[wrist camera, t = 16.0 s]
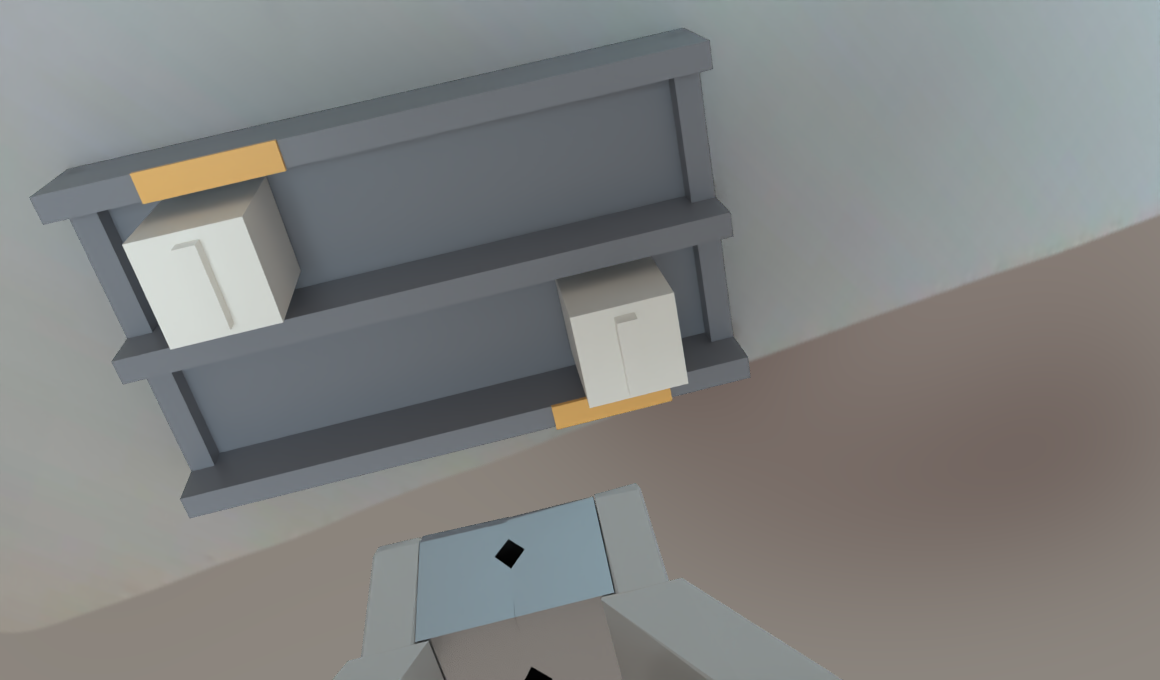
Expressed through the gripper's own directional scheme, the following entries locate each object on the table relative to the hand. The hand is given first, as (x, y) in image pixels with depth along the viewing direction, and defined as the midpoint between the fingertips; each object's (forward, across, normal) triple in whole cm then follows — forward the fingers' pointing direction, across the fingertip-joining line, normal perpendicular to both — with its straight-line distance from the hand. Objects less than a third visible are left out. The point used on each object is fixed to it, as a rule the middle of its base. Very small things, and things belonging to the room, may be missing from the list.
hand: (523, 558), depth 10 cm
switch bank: (+27, +4, +7) cm, 28 cm away
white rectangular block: (+26, +11, +4) cm, 29 cm away
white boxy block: (+27, -3, +10) cm, 29 cm away
